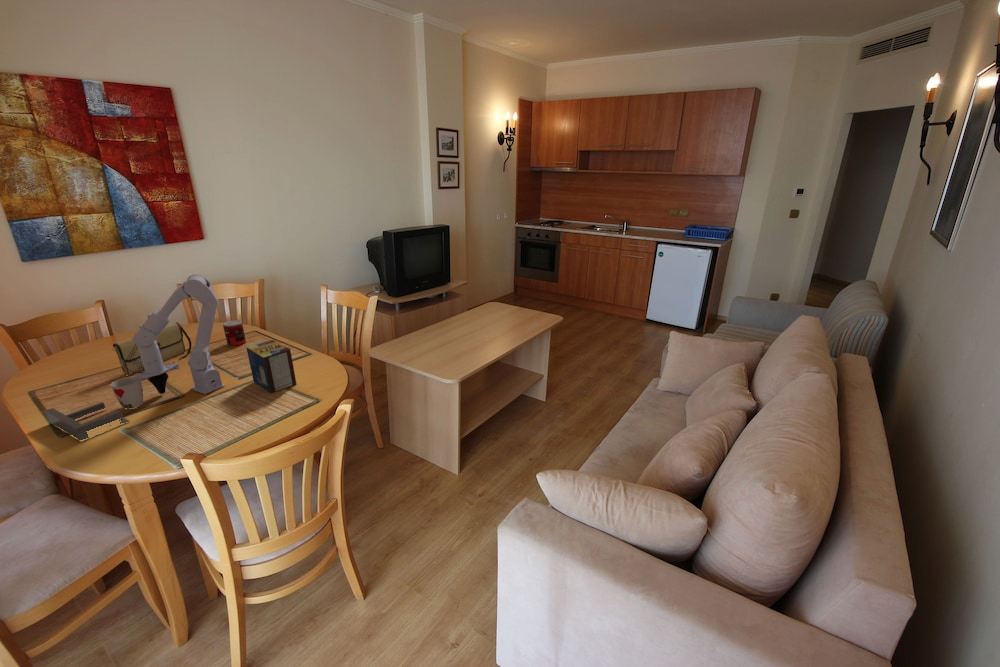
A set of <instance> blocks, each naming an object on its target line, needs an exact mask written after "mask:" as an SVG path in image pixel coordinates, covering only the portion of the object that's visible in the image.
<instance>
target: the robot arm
mask: <svg viewBox="0 0 1000 667" xmlns="http://www.w3.org/2000/svg"><path fill="white" fill-rule="evenodd" d="M191 297H192V298H193V299H196V300H197V302H198V303H200V304H201V306H202V307H201V311H200V315H199V321H198V327H197V331H196V336H195V342H194V346H193V348H192V349H191V350H190V355H189V358H188V360H187V364H188V367H189V368H190V372H191V376H192V381H193V384H194V386H191V387H190V389H191V390H193V391H196V392H198V393H201V394H202V395H206V394H208V393H211V392H213V391H216V390H219V389H221V388H223V387H226V384H224V383H222V379H221V378H222V377H221V374H220V372H219V371H218V370H217V369H216V368H215V367H214V365H213V362H212V361H211V360H210V357H211V351H210V350H209V348H210V344H211V343H210V342H211V337H212V332H213V327H214V322H215V317H216V313H217V309H218V308H217V307H218V305H219V304H218V303H219V298H218V296H217V294H216V293H215V290H214V289H213V286H212V284H211V281H209V280H208V279H207V278H206V277H205V276H203V275H202V274H197V273H196V274H195V273H194V274H192V275H190V276H188V277H187V279H186V280H184V281H183V282H182V283H181V284H180V285H179V286H178V287H177V288H176V289H175V290H174V292H173V293H172V294H171V295H170V297H169V298H168V299H167V300H166V302H165V303H164V305H163V306H162V308H160V310H155V311H153V312H152V313H148V315H146V318H147V319H146V320H145V321H144V323H143V324H140V325H139V326H138V330H137V331H136V332H134V335H133V337H134V338H133V337H132V338H133V341H134V343H135V344H136V345H138V348H139V353H140V356H141V359H142V362H143V365H144V371H145V372H144V371H142V372H143V373H138V375H136V376H132V377H133V378H131V379H132V382H133V383H135V382H137V381H138V380H139V379H141V382H142V381H145V380H147V381H149V383H151V385H153V386H154V388H155V390H157V392H158V393H159V394H160V395H163V394H165V393H166V385H167V381H168V379H169V374H168V373H169V372H171V371H175V370H180V366H179V364H178V363H176V362H174V363H172V364H170V365H166V364H164V361H163V360H162V357H161V353H160V350H159V347H158V344H157V341H156V340H155V339H156V338H157V335H159V334H160V333H161V331H162V330H163V329H164V328H165V327H166V326H168V325H169V323H170V322H171V318H170V315H171V314H172V313H173V311H174V310H175V309H176V308H177V307H178V306H179V305H180V303H181V302H182V301H183V300H189V299H190V298H191ZM164 365H166V366H164Z"/></svg>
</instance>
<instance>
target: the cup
mask: <svg viewBox="0 0 1000 667" xmlns="http://www.w3.org/2000/svg"><path fill="white" fill-rule="evenodd" d="M133 377H134V376H128V377H127V376H125V377H122V378H118V379H116V380H115V381H112V382H111V383H110V387H111V389H112V392H113V395H114V396H115V398H116V400H117V401H118V403H119V404H120V406H122V408H123V409H124V408H127V409H129V408H135V407H138V406H140V405H142V403H143V402H144V391H143V384H142V381H141V379H139V380H138V381H137V382H135V383H133V382H132V379H131V378H133ZM143 404H144V403H143ZM142 406H143V405H142Z"/></svg>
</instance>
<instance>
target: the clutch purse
mask: <svg viewBox="0 0 1000 667" xmlns="http://www.w3.org/2000/svg"><path fill="white" fill-rule="evenodd" d="M184 336H185V337H186V339H187V342H188V350H187V353H186V347H185V343H184ZM133 338H134V336H133V337H130V338H127V339H124V340H122V341H118V342H115V343H113V344H112V347H113V348H111V350H112V351H114V352H115V353H116V355H117V359H118V361H119V364H120V367H121V370H122V373H123V374H124V375H125V374H126V375H129V374H131V373H134V374H141V373H143V372H145V369H144V365H143V362H142V359H141V356H140V353H139V348H138V345H136V344H135V343H134V341H133ZM155 340H156V341H157V344H158V347H159V350H160V353H161V357H162V360H163V362H165V361H167V359H168V360H170V359H172V358H175V357H176V356H179V354H180V355H181V354H184V352H185V353H186V354H184V355H183V356H181V357H180V358H179V359H181V358H183V359H184V358H186V357H187V356H188V355H189V354H191V351H192V340H191V338H190V336H188V334H187V332H186V331H185V329H184V328H183V325H182V324H180V323H179V322H174V323H171V324H167V325H166V327H165V328H164V329H163V330H162V331H161V333H160V334H159V335H157V338H156V339H155ZM174 356H175V357H174ZM181 360H182V359H181ZM141 369H144V371H142V370H141ZM139 370H141V371H139ZM137 371H139V372H137ZM129 376H130V375H129Z"/></svg>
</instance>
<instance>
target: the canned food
mask: <svg viewBox="0 0 1000 667" xmlns="http://www.w3.org/2000/svg"><path fill="white" fill-rule="evenodd" d="M243 325H244V324H243V322H242V320H237V319H235V320H228V321H225V322H224V323H222V327H223V330H224V336H225V339H226V344H227V345H228V347H231V346H236V347H241V346H243V344H244V345H245V344H246V342H247V340H246V335H245V334H246V333H245V330H244V326H243ZM240 345H241V346H240Z"/></svg>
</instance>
